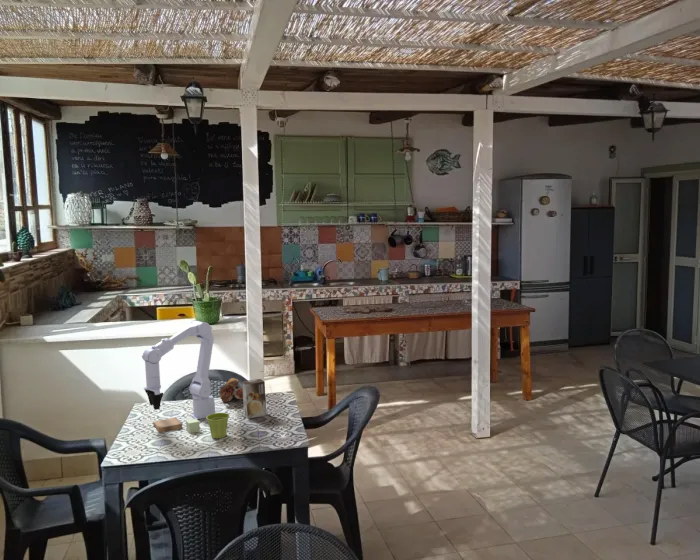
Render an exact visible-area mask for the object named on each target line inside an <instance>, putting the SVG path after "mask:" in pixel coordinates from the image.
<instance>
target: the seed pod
mask: <svg viewBox="0 0 700 560" xmlns="http://www.w3.org/2000/svg"><path fill="white" fill-rule="evenodd" d="M239 383H240V382H239V379H238V378H234V377H232V378H230V379H229V380H228V381H227V382H226V383H225V384H224V385H222V386H221V387H220V389H219V391H218V393H219V395H220V400H221V401H222V402H223V403H225V402H227V403H228V402H230V401H232V400H233V399H235V398H236V399H237V400H243V386H239Z"/></svg>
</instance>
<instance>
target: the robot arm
mask: <svg viewBox="0 0 700 560" xmlns="http://www.w3.org/2000/svg"><path fill="white" fill-rule="evenodd" d="M212 330H213V327H212V326H211V325H210V324H209V323H208V322H205V321H199V320H195V319H194V320H191V321H190V322H189V323H186V324H185V326H184V327H182V328H181V329H180V330H179V331H178V332H176V333H174V335H172V336H170V337H169V338H161V339H160V342H157V343H156V344H155V345H154V344H153V345H152V346H151V348H150V347H149V348H146V349H145V350H143V353H142V355H141V358H142V359H143V361H144V365H145V367H144V368H145V369H144V370H145V383H146V386H144V387H143V390H144V392H145V393H146V395H147V399H148V401H149V405H150V406H152V407H153V409H154V411H155V410H160V408H161V402H162V398H163V396H164V392H161V388H162V385H161V373H160V361H161V360H162V357H163V356H165V355H167V354H168V353H169V352H170V351H172V350H173V349H174V346H175V345H176V344H178V343H179V342H181V341H183V340H184V339H186V338H187V337H189V336H195V337H196V338H197V339H198V340H199V341H200V346H199V347H200V348H199V353H198V360H197V366H196V372H195V376H194V377H193V378H192V380H191V383H190V384H189V388H188V389H189V390H188V391H189V393H190V395H192V396H191V397H192V408H193V409H192V410H193V411H192V413H191V414H190V416H191V417H192V419H197V420H202V419H206V417H207V416H208V415H210V414H214V413H216V405H215V404H216V403H215V399H214V396H213V395H211V393H212V387H211V384H212V382H211V380H210V377H209V374H210V372H209V371H210V367H211V360H212V359H211V358H212V354H213V345H214V339H215V337H214V335H213V331H212Z"/></svg>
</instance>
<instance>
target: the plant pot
mask: <svg viewBox="0 0 700 560" xmlns="http://www.w3.org/2000/svg"><path fill="white" fill-rule="evenodd" d="M229 418H230V414H229V413H226V412H215V413H214V414H210V415H208V416H207V417H206V418H205V419H206V420H207V422H208V425H209V426H208V427H209V431H210V436H211V438H212V439H218V438H219V439H223V438H225V437H227V431H228V421H229Z"/></svg>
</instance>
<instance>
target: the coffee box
mask: <svg viewBox="0 0 700 560" xmlns="http://www.w3.org/2000/svg"><path fill="white" fill-rule="evenodd" d="M265 383H266V381H264V380H263V379H262V378H259V379H258V378H255V379H249V380H243V381H242V382H241V384H242V388H243V399H242V401H243V416H244V417H246V418H247V419H252V418H258V417H265V416H267V402H266V386H265Z"/></svg>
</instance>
